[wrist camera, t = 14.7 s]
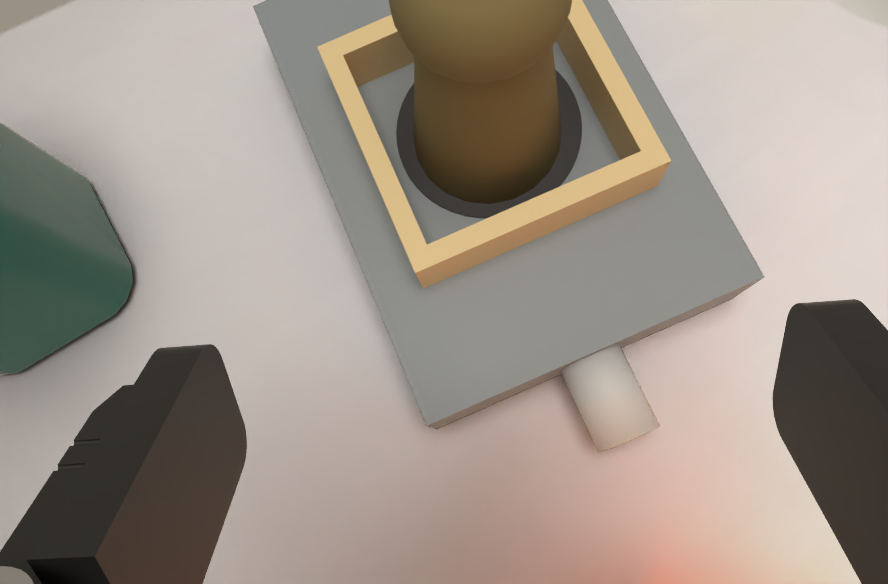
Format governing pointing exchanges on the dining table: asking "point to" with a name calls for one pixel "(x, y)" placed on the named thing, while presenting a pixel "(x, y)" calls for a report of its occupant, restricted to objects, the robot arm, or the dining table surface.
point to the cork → (484, 92)
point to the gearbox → (514, 219)
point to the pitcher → (52, 255)
